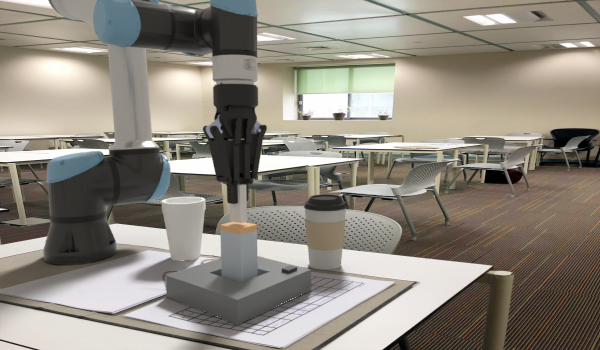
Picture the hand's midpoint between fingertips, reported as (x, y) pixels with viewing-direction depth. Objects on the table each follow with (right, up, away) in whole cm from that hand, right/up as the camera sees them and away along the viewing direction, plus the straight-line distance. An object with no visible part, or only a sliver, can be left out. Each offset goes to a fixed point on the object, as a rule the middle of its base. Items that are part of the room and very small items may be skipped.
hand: (238, 221), depth 82 cm
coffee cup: (+16, -11, +18) cm, 27 cm away
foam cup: (-15, -11, +24) cm, 30 cm away
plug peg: (0, -13, +2) cm, 13 cm away
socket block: (0, -13, +2) cm, 13 cm away
